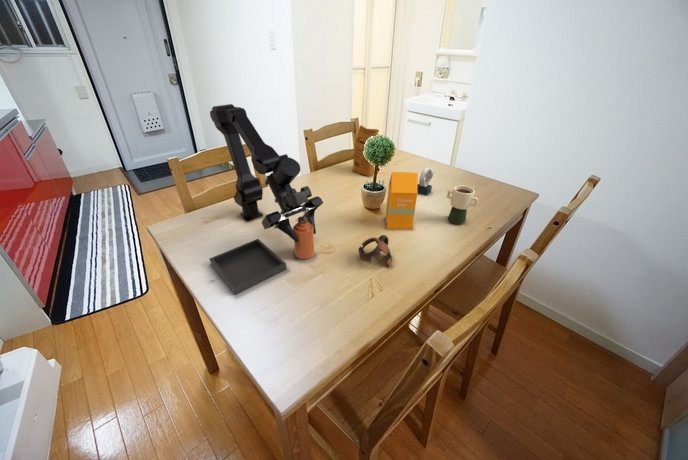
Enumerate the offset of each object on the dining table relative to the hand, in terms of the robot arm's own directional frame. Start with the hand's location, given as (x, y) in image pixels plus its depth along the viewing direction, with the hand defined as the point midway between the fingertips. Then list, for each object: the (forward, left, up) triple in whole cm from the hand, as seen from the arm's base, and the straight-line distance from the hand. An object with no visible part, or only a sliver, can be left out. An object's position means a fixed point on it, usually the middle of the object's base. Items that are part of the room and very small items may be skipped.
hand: (306, 237), depth 89 cm
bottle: (-1, 0, -7) cm, 7 cm away
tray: (-7, -16, -8) cm, 19 cm away
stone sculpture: (-5, +66, -8) cm, 67 cm away
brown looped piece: (+14, +16, -8) cm, 23 cm away
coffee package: (-38, +63, -8) cm, 74 cm away
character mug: (+18, +55, -8) cm, 58 cm away
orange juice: (+5, +37, -8) cm, 38 cm away
